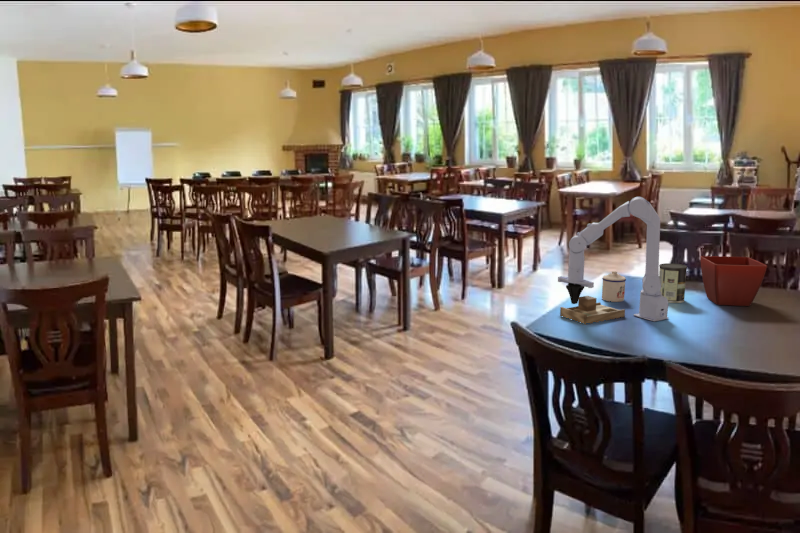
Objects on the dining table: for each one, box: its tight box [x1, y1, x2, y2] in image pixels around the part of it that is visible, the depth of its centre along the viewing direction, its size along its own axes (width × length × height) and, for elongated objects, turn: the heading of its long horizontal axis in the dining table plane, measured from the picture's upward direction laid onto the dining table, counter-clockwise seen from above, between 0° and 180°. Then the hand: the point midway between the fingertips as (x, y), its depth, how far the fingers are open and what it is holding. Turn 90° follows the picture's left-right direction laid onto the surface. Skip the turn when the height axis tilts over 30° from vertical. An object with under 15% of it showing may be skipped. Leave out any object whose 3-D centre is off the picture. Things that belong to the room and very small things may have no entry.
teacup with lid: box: [601, 270, 627, 303], centre depth 281 cm, size 12×9×12 cm
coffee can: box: [659, 262, 688, 304], centre depth 279 cm, size 10×10×14 cm
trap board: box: [559, 302, 626, 325], centre depth 255 cm, size 12×20×4 cm, turn 121°
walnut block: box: [577, 295, 597, 312], centre depth 258 cm, size 4×4×4 cm
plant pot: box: [699, 255, 768, 307], centre depth 275 cm, size 19×19×17 cm
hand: (574, 303), depth 263 cm, fingers closed
